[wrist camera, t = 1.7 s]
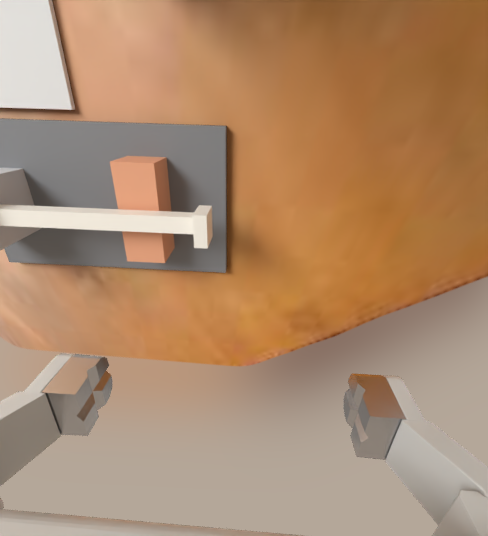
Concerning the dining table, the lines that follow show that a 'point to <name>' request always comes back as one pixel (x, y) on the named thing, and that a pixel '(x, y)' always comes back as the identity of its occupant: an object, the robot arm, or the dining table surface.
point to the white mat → (32, 57)
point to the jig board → (109, 187)
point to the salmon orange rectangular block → (143, 203)
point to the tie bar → (113, 220)
